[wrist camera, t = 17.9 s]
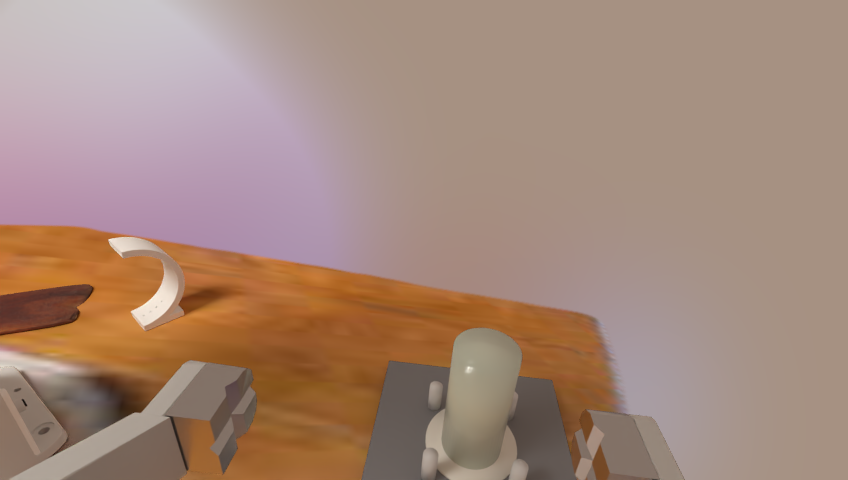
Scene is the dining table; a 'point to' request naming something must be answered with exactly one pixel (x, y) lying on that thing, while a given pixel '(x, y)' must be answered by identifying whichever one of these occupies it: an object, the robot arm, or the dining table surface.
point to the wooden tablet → (41, 308)
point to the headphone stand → (172, 287)
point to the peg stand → (423, 422)
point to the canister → (479, 396)
